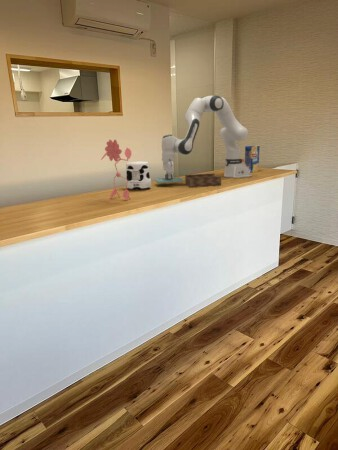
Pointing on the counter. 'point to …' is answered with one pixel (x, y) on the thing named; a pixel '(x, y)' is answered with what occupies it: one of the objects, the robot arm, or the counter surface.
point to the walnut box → (202, 180)
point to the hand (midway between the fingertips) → (168, 178)
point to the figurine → (114, 153)
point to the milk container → (138, 175)
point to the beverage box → (252, 158)
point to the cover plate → (166, 179)
